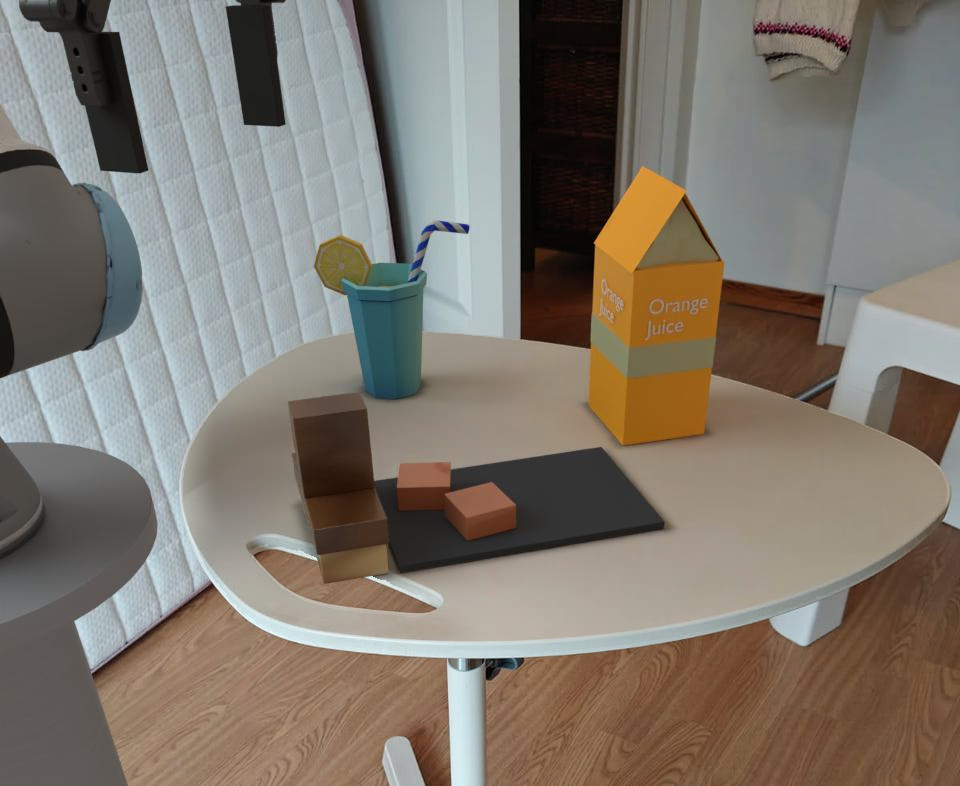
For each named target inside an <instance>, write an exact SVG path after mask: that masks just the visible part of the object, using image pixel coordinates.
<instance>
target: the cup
mask: <svg viewBox="0 0 960 786" xmlns="http://www.w3.org/2000/svg"><path fill="white" fill-rule="evenodd" d="M470 228H471V227H470V224H468V223H462V222H453V221H445V220H438V219H433V220H432V221H431V222H429V223H428V224H426V226H425V227H424V228H423V230H422V231H421V234H420V237H419V240H418V244H417V246H416V250H415V251H416V252H415V255H414V258H413V262H412V264H410V263H401V262H377V263H372V262H371V259H370V257H369V255H368V254H367V252H366V250H365V248H364V245H363V243H360V242H359V241H356V240H355V239H352V238H349V237H347V236H344V235H342V234H339V235H337V236H334V237H332V238H329V239H328V240H325V241H322V242H321V243H320V244H319V245H318V249H317V253H316V256H315V260H314V264H313V268H314V270H315V271H316V273H317V275H318V277H319V279H320V281H321V283H322V285H323V286H324V288H326V289H329V290H331V291H334V292H336V293H338V294H341V295H343V296H346V298H347V302H348V307H349V313H350V317H351V322H352V328H353V329H352V330H353V333H354V338H355V345H356V348H357V349H356V350H357V353H358V354H357V355H358V359H359V365H360V369H361V374H362V378H363V385H364V389H365V392H367V393H368V394H369V395H371V396H373V397H374V398H375V399H389V400H399V399H402V398H406V397H409V396H412V395H416V394H417V393H418V391H419V389H420V388H421V385H422V357H423V356H422V352H423V351H422V350H423V323H424V322H423V318H424V317H423V316H424V315H423V314H424V288H425V287H426V285H427V282H428V281H427V280H428V272H426V271H425V270H423V269H422V266H423V262H424V259H425V254H426V252H427V249H428V246H429V242H430V239H431V235H432V234H434V232H435V231H436V232H443V233H452V234H453V233H454V234H465V235H468V234H469V232H470Z"/></svg>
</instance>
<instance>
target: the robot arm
mask: <svg viewBox="0 0 960 786" xmlns="http://www.w3.org/2000/svg"><path fill="white" fill-rule="evenodd" d="M286 1H287V0H235V2H236V3H238V4H239V5H238V4H237V5H235V4H232V5H227V6H225V13H226V19H227V25H228V31H229V39H230V43H231V50H232V57H233V64H234V69H235V76H236V83H237V89H238V94H239V103H240V108H241V115H242V121H243V125H244V126H257V127H275V128H276V127H277V128H279V127H280V128H281V127H283V126H286V124H287V123H286V116H285V109H284V102H283V93H282V86H281V79H280V71H279V63H278V56H279V55H278V53H279V51H278V44H277V36H276V30H275V21H274V15H273V14H274V13H273V4H284V3H285V2H286ZM111 2H112V0H18V7H19V11H20V13H21V15H22V16H23V18H24V19H25V20H26V21H28V22H33V23H34V22H35V23H39V24H40V27H41V28H42V29H43V31H45V32H46V33H58V34H59V36H60V37H61V40H62V44H63V47H64V52H65V56H66V60H67V65H68V69H69V72H70V76H71V81H72V82H73V83H72V85H73V89H74V92H75V96H76V99H77V100H78V102H79V104H80V106H84V108H85V111H86V116H87V121H88V125H89V128H90V134H91V138H92V141H93V142H92V143H93V147H94V149H95V155H96V158H97V162H98V166H99V171H101V172H114V173H126V174H139V175H140V174H142V173H146V172H148V171H149V166H148V161H147V156H146V152H145V148H144V147H145V146H144V142H143V137H142V133H141V128H140V124H139V119H138V118H139V117H138V113H137V108H136V104H135V100H134V96H133V90H132V86H131V85H132V84H131V81H130V80H131V79H130V75H129V70H128V67H127V62H126V57H125V52H124V47H123V43H122V39H121V38H122V37H121V34H120V31H104V29H105V26H106V21H107V19H108V14H109V10H110V6H111ZM143 288H144V287H143V267H142V261H141V256H140V251H139V248H138V244H137V241H136V238H135V234H134V233H133V230H132V226H131V225H130V222H129V220H128V219H127V217H126V214H125V213H124V211H123V209H122V208H121V206H120V205H119V203H118V202H117V201H116V200H115V198H114V197H113V196H112V195H111V194H110V193H109V192H108V191H106V190H103V189H102V188H101V187H100V186H98V185H96V184H93V183H87V182H78V183H74V184H72V183H71V181H70V180H69V179H68V177H67V175H66V174H65V171H64V170H63V168H62V167H61V165H60V163H59V162H58V160H57V158H56V156H55V155H54V154H53V153H52V151H50V150H49V149H48V148H45V147H43V146H40V145H37V144H34V143H31V142H28V141H25V140H23V139H22V137H21V136H20V134H19V132H18V131H17V129H16V128H15V126H14V124H13V122H12V121H11V119H10V118H9V116H8V114H7V112H6V111H5V109H4V107H3V106H2V103H0V379H4V378H5V377H8V376H11V375H15V374H17V373H20V372H23V371H25V370H28V369H32V368H34V367H37V366H41V365H43V364H46V363H48V362H52V361H54V360H57V359H60V358H63V357H66V356H69V355H72V354H75V353H78V352H85V351H87V352H88V351H91V350H93V349H94V348H95V347H96V346H97V345H98V344H101V343H104V342H105V341H108V340H110V339H113V338H116V337H117V336H120V335H121V334H124V333H125V332H126V331H127V330H129V328H131V327H132V325H133V324H134V322H135V321H136V319H137V317H138V315H139V312H140V309H141V305H142V299H143V291H144V289H143ZM6 443H7V442H5V440H4V438H2V436H1V435H0V559H1V558H3V557H5V556H7V555H8V554H10V553H12V552H13V551H15V550H17V549H18V548H20V547H21V546H22V545H24V544H25V543H26V542H27V541H29V540H30V539H31V538H32V537H33V536H34V535H35V534H36V533H37V531H38V530H39V529H40V527H41V526H42V524H43V522H44V520H45V515H46V510H45V506H44V503H43V500H42V497H41V493H40V491H39V489H38V487H37V485H36V484H35V482H34V480H33V479H32V477H31V476H30V474H29V473H28V472H27V471H26V469H25V468H24V467H23V465H22V464H21V463H20V461H19V460H18V459H17V457H16V456H15V455H14V453H13V452H12V451H11V450H10V448H9V447H8V446H7V444H6Z"/></svg>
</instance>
